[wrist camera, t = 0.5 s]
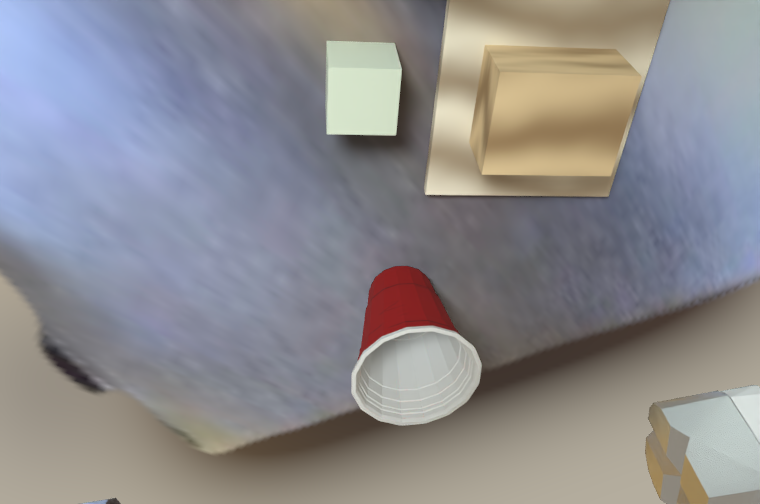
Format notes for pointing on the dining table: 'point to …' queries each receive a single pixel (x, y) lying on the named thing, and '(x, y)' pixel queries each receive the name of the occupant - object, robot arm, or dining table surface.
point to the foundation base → (527, 30)
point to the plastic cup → (411, 353)
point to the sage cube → (362, 88)
